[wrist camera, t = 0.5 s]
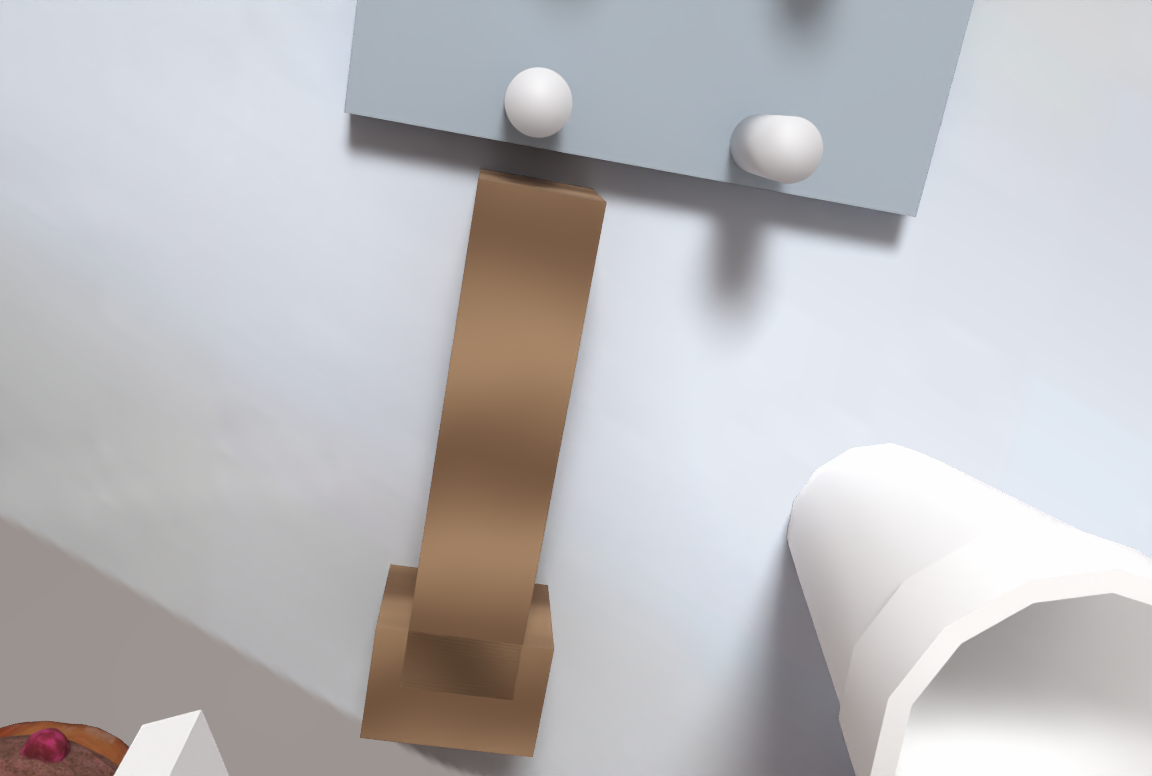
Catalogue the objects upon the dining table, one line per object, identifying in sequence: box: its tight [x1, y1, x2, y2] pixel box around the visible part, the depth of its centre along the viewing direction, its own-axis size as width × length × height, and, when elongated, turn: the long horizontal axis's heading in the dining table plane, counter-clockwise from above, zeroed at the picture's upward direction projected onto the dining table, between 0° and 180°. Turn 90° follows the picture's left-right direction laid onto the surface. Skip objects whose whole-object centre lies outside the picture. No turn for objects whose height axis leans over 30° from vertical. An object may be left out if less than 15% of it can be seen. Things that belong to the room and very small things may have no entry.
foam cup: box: [787, 443, 1152, 776], centre depth 30 cm, size 10×9×13 cm
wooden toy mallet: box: [360, 168, 606, 757], centre depth 32 cm, size 18×6×4 cm, turn 170°
